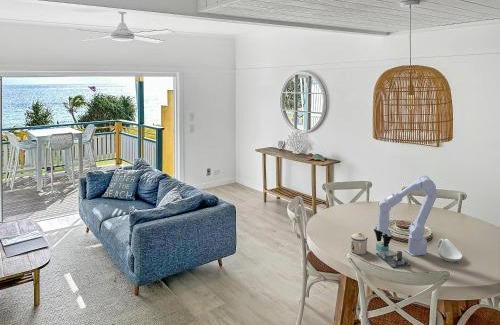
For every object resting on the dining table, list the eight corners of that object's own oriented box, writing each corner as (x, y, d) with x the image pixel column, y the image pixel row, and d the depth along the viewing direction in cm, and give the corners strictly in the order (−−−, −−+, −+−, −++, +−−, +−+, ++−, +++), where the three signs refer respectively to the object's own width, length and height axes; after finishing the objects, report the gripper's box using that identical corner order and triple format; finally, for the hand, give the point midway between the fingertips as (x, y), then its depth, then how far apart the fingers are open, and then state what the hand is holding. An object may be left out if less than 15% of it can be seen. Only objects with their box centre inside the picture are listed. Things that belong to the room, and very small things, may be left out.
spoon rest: (465, 265, 207) (466, 252, 206) (441, 264, 210) (442, 251, 208) (451, 247, 230) (452, 235, 229) (430, 246, 232) (430, 234, 231)
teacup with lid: (350, 247, 232) (350, 229, 230) (366, 248, 230) (367, 229, 228) (351, 256, 220) (352, 236, 218) (368, 257, 219) (369, 237, 216)
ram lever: (398, 259, 213) (398, 248, 212) (404, 264, 207) (405, 253, 206) (391, 260, 212) (392, 249, 211) (397, 265, 206) (398, 254, 205)
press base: (391, 252, 224) (392, 248, 224) (410, 265, 208) (410, 261, 207) (375, 254, 222) (376, 250, 222) (392, 268, 206) (393, 264, 205)
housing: (383, 248, 230) (384, 240, 229) (388, 252, 225) (388, 244, 224) (376, 249, 229) (376, 241, 228) (380, 253, 224) (380, 245, 223)
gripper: (370, 217, 230) (369, 239, 232) (384, 226, 216) (382, 249, 218) (381, 216, 231) (380, 238, 234) (395, 225, 217) (394, 248, 220)
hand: (382, 243), depth 226 cm, fingers open, 7 cm apart
